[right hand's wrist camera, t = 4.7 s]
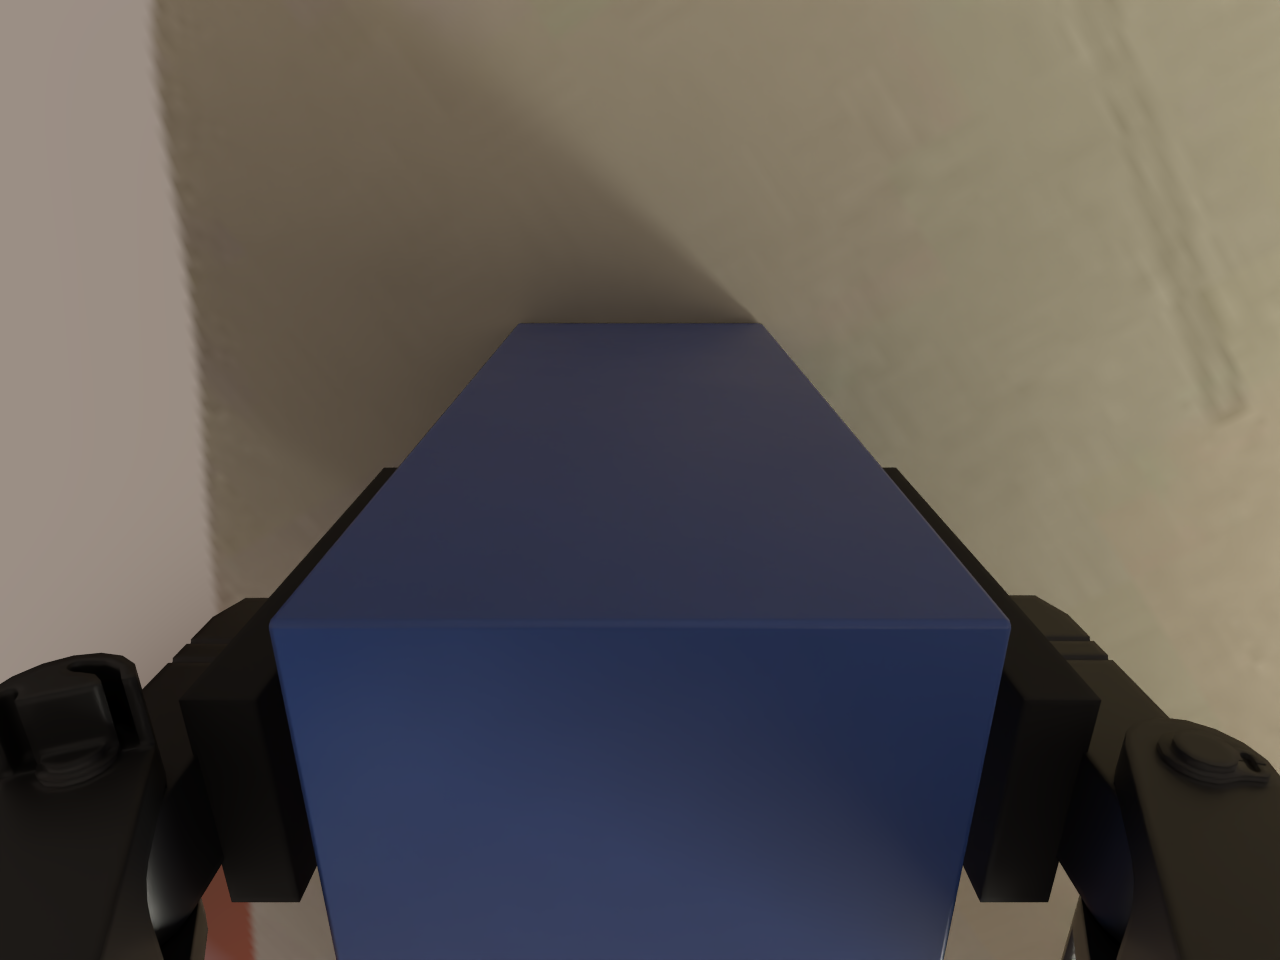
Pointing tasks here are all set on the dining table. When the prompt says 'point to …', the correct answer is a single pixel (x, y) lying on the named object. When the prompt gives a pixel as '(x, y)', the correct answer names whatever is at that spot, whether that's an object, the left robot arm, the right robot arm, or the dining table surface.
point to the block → (639, 672)
